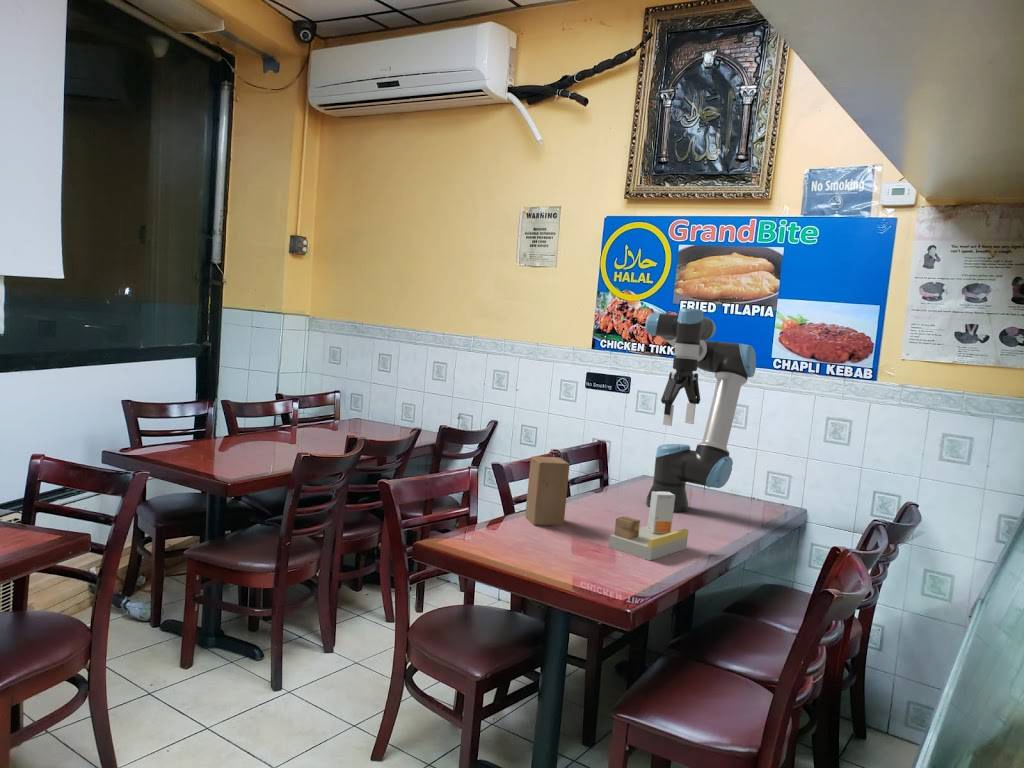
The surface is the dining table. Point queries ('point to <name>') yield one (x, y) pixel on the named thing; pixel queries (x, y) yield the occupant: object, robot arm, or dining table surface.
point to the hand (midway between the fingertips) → (678, 424)
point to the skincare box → (661, 512)
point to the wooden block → (547, 491)
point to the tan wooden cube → (627, 527)
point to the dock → (651, 543)
